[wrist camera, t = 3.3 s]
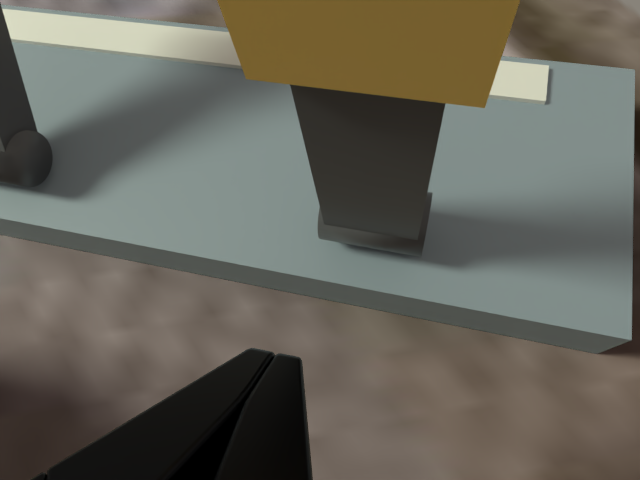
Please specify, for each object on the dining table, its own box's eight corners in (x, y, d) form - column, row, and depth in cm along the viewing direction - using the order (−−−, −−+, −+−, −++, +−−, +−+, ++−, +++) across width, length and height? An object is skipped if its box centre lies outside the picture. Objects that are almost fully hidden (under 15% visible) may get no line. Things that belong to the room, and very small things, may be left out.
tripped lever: (430, 273, 16) (523, -9, 6) (308, 251, 16) (205, -34, 7) (441, 206, 16) (537, -142, 7) (324, 187, 17) (254, -151, 7)
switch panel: (596, 353, 17) (634, 338, 14) (-117, 211, 22) (-180, 182, 20) (605, 111, 20) (637, 65, 18) (-16, 38, 26) (-58, -5, 23)
